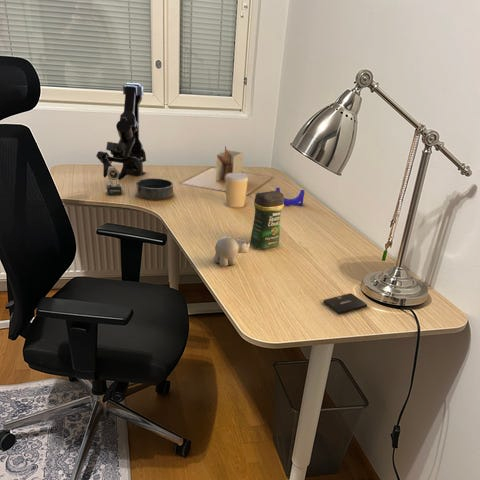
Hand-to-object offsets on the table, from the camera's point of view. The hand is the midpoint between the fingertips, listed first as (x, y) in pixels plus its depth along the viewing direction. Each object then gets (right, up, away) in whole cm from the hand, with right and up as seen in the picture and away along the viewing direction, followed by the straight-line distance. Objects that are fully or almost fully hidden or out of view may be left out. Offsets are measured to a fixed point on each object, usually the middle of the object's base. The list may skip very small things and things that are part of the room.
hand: (111, 178), depth 191 cm
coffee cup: (+51, -10, +3) cm, 52 cm away
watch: (0, -5, +5) cm, 7 cm away
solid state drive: (+82, -55, -64) cm, 118 cm away
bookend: (+48, +9, +33) cm, 59 cm away
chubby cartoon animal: (+51, -41, -45) cm, 79 cm away
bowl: (+17, -5, +6) cm, 19 cm away
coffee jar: (+62, -33, -32) cm, 77 cm away
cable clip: (+74, -9, +7) cm, 75 cm away
